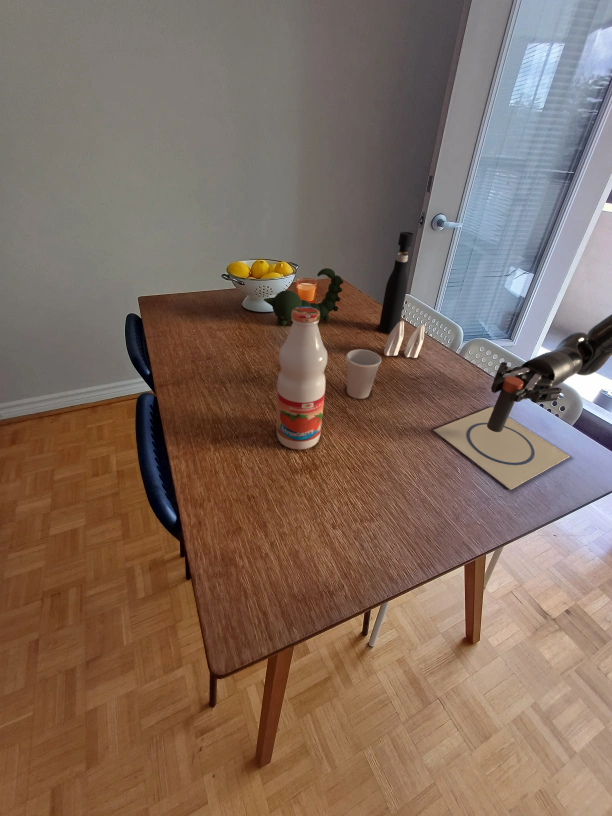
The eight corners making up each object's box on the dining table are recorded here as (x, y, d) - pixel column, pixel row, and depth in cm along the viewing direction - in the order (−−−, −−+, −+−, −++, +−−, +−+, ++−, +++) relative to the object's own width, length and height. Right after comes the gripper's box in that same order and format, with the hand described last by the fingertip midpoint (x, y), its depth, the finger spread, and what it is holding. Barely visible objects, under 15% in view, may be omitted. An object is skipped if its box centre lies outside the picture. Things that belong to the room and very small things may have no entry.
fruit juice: (315, 421, 89) (326, 300, 73) (324, 449, 82) (339, 321, 65) (273, 424, 87) (275, 301, 71) (279, 452, 80) (282, 323, 64)
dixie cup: (373, 404, 96) (380, 368, 90) (339, 398, 97) (344, 362, 91) (375, 386, 103) (382, 351, 97) (343, 381, 104) (348, 346, 98)
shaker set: (383, 361, 114) (390, 325, 107) (378, 354, 117) (385, 318, 111) (422, 358, 116) (431, 323, 110) (415, 351, 120) (424, 317, 113)
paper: (569, 456, 84) (570, 455, 84) (510, 490, 75) (510, 489, 75) (491, 407, 98) (491, 406, 98) (433, 430, 89) (433, 429, 89)
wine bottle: (399, 334, 129) (420, 236, 112) (380, 333, 129) (397, 235, 111) (396, 326, 134) (415, 231, 117) (377, 325, 134) (394, 230, 117)
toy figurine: (328, 319, 140) (258, 318, 131) (338, 265, 129) (263, 259, 121) (338, 331, 132) (264, 330, 124) (349, 274, 122) (270, 269, 114)
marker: (506, 429, 86) (527, 382, 79) (496, 434, 84) (516, 386, 77) (493, 421, 88) (512, 374, 81) (483, 425, 87) (501, 378, 80)
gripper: (523, 343, 90) (478, 361, 81) (587, 370, 81) (544, 394, 72) (511, 371, 94) (467, 392, 86) (571, 400, 85) (529, 426, 77)
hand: (503, 393), depth 79 cm, fingers closed on marker, 3 cm apart
